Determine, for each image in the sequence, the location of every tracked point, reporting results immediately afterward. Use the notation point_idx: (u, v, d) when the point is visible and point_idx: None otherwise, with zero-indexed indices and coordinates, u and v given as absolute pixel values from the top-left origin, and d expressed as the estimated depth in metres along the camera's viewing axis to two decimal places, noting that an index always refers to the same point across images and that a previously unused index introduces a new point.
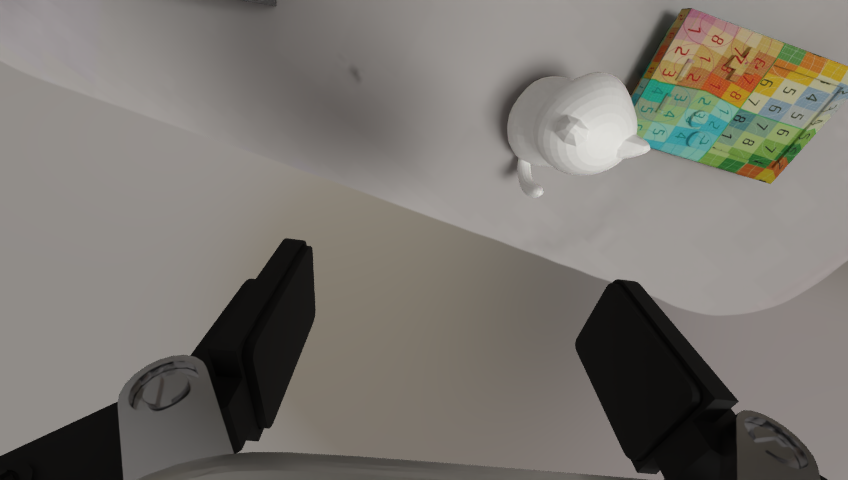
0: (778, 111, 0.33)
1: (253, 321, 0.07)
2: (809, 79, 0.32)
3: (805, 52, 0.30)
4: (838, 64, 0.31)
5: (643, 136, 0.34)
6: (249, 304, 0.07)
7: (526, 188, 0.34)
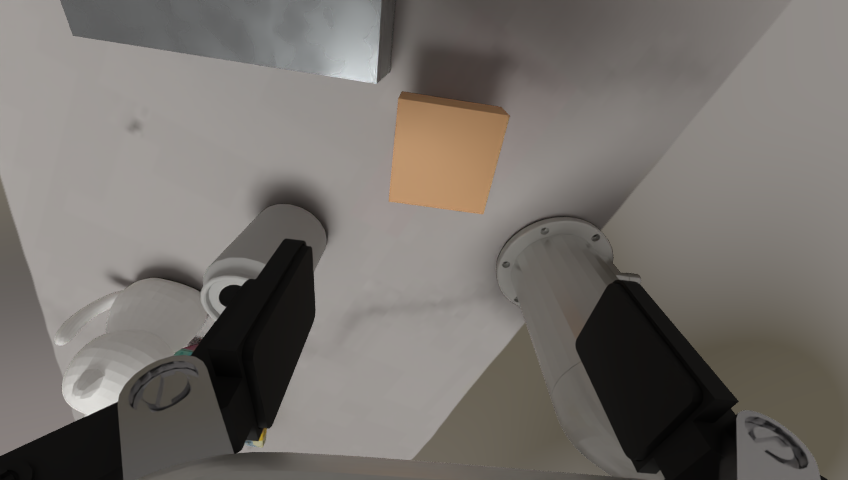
0: None
1: (254, 321, 0.07)
2: None
3: None
4: (261, 436, 0.52)
5: None
6: (249, 304, 0.07)
7: (68, 324, 0.34)
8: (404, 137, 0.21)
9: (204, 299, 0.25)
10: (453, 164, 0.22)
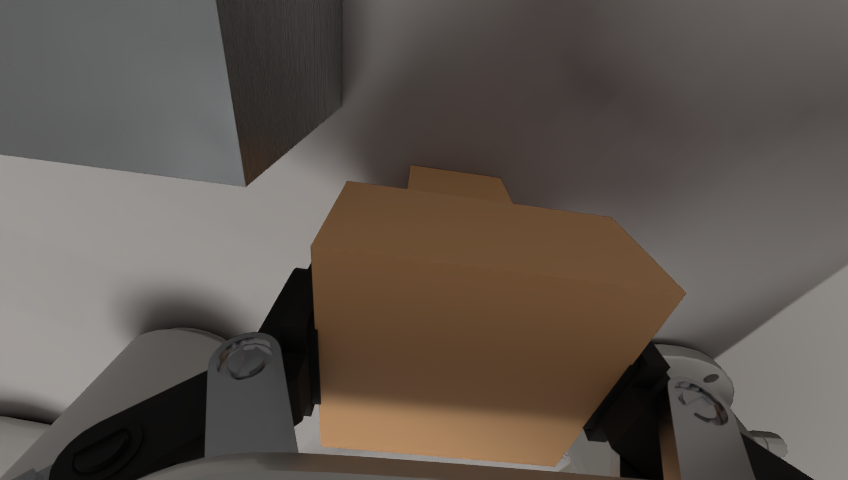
0: None
1: None
2: None
3: None
4: None
5: None
6: (308, 288, 0.07)
7: None
8: (345, 338, 0.07)
9: None
10: (488, 391, 0.08)
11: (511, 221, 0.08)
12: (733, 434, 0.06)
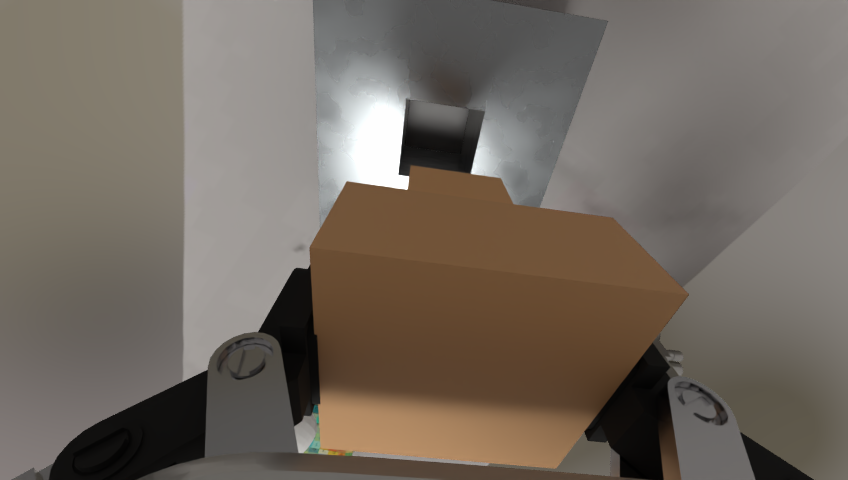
0: None
1: None
2: None
3: None
4: None
5: None
6: (308, 288, 0.07)
7: None
8: (344, 340, 0.07)
9: None
10: (488, 392, 0.08)
11: (512, 222, 0.08)
12: (733, 434, 0.06)
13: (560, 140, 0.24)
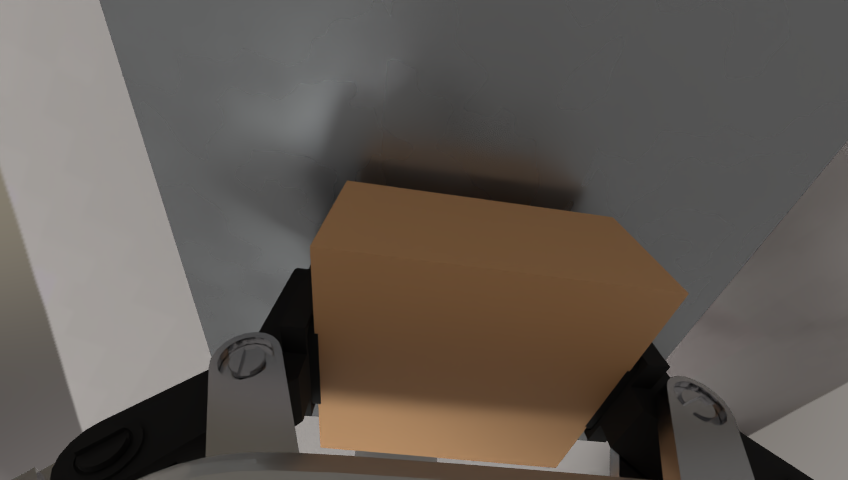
0: None
1: None
2: None
3: None
4: None
5: None
6: (308, 288, 0.07)
7: None
8: (344, 339, 0.07)
9: None
10: (488, 391, 0.08)
11: (512, 221, 0.08)
12: (732, 433, 0.06)
13: (726, 276, 0.11)
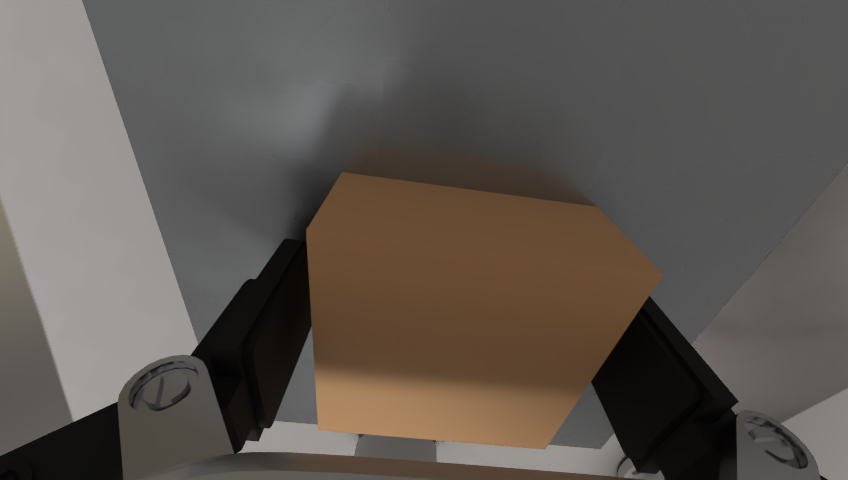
0: None
1: (253, 321, 0.07)
2: None
3: None
4: None
5: None
6: (249, 304, 0.07)
7: None
8: (340, 321, 0.07)
9: None
10: (478, 372, 0.08)
11: (499, 209, 0.08)
12: None
13: (734, 283, 0.10)
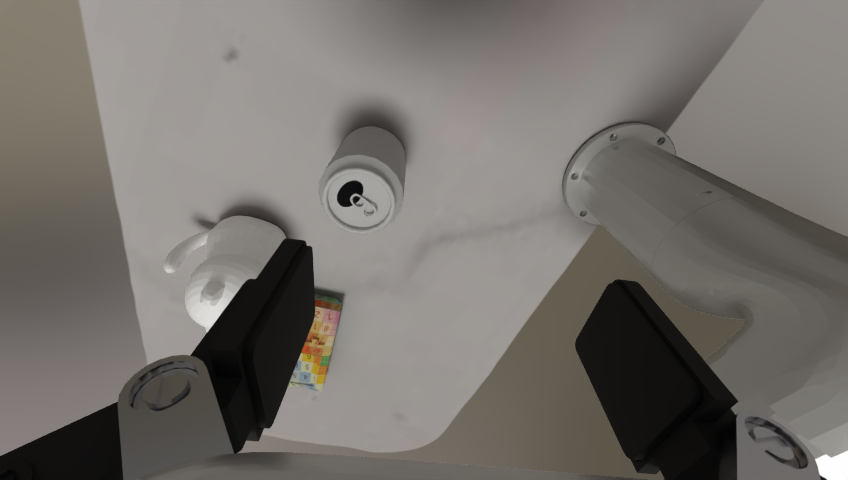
0: (295, 367, 0.53)
1: (253, 321, 0.07)
2: (314, 372, 0.53)
3: (327, 365, 0.52)
4: (324, 379, 0.54)
5: None
6: (249, 304, 0.07)
7: (172, 255, 0.36)
8: None
9: (325, 197, 0.28)
10: None
11: None
12: None
13: None
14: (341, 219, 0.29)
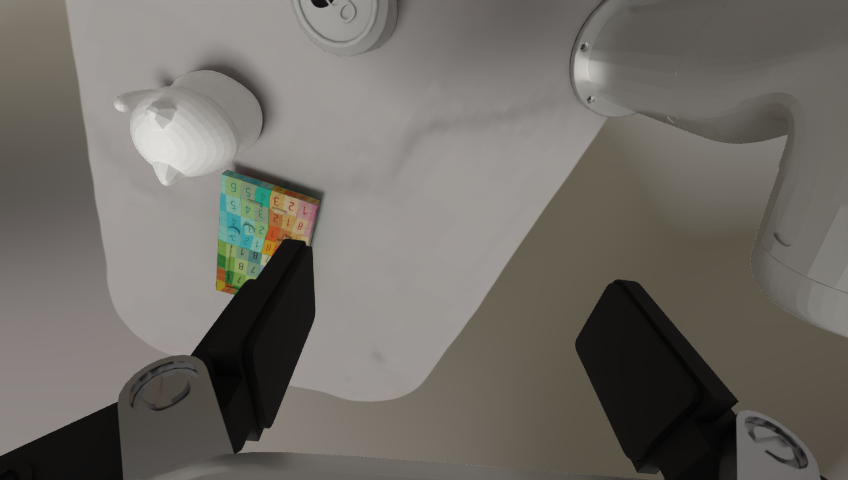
0: None
1: (253, 321, 0.07)
2: None
3: None
4: None
5: (227, 194, 0.41)
6: (249, 304, 0.07)
7: (126, 94, 0.32)
8: None
9: None
10: None
11: None
12: None
13: None
14: (313, 27, 0.25)
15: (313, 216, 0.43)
